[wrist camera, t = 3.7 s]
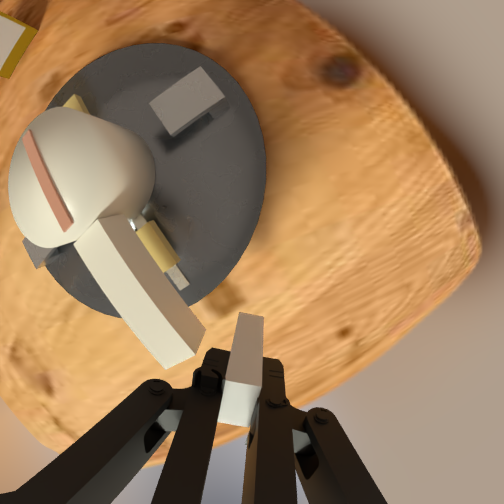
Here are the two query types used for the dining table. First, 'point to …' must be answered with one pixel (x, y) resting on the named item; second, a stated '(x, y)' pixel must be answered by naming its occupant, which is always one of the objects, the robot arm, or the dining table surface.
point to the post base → (175, 163)
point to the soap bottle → (13, 42)
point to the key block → (103, 219)
